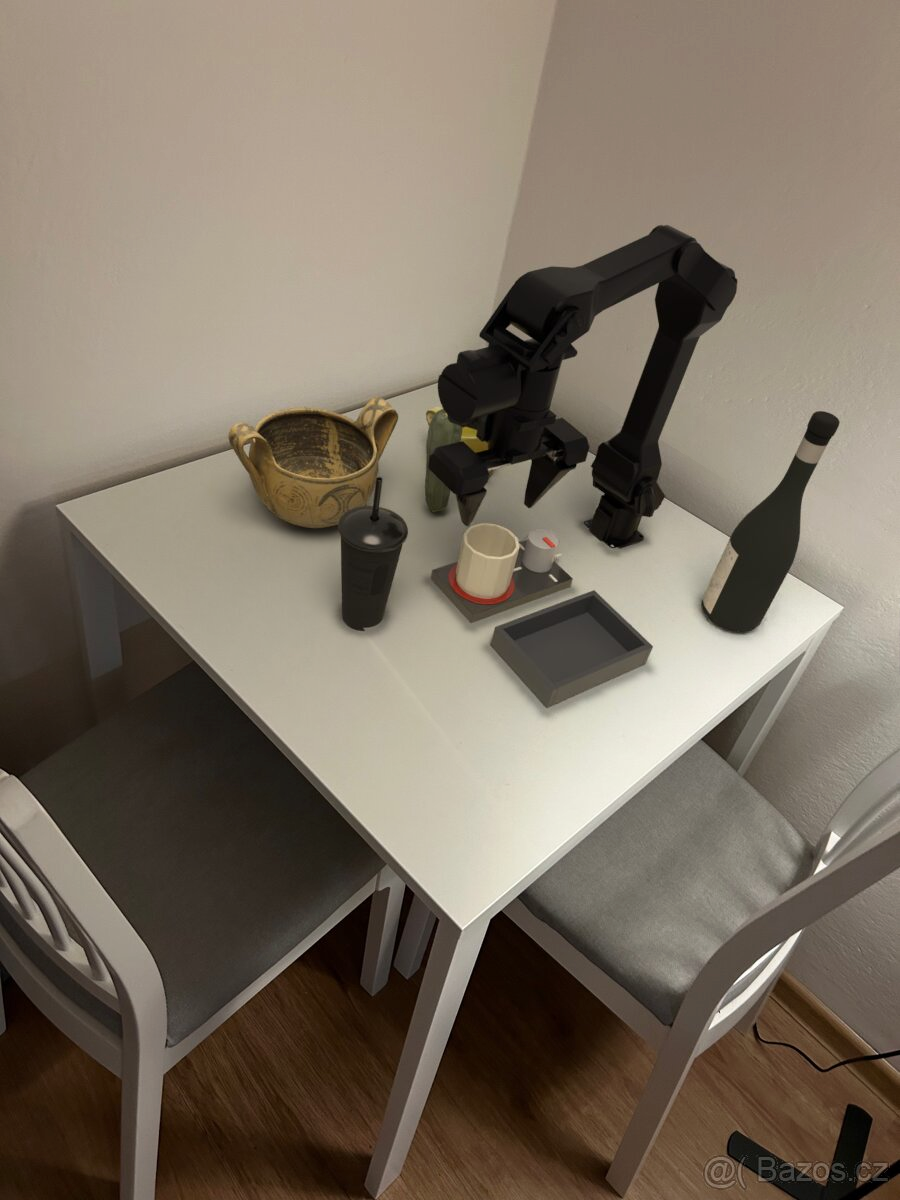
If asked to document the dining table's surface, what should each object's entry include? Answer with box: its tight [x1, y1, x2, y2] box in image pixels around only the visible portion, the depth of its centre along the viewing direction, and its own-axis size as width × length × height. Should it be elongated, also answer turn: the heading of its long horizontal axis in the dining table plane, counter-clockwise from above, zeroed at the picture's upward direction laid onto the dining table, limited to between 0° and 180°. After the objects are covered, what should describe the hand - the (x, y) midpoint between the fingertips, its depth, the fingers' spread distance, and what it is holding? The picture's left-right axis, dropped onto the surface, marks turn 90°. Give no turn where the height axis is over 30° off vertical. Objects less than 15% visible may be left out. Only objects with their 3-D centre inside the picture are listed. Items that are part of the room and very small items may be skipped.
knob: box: [522, 528, 560, 573], centre depth 115 cm, size 4×4×4 cm
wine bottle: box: [701, 410, 841, 634], centre depth 108 cm, size 8×8×30 cm
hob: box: [430, 539, 574, 624], centre depth 115 cm, size 18×9×2 cm, turn 124°
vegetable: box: [424, 409, 463, 513], centre depth 118 cm, size 4×4×20 cm
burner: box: [448, 563, 515, 605], centre depth 112 cm, size 8×8×1 cm
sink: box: [489, 589, 654, 709], centre depth 106 cm, size 16×11×4 cm
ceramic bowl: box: [227, 396, 399, 529], centre depth 116 cm, size 22×17×15 cm
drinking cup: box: [337, 476, 409, 632], centre depth 100 cm, size 8×8×20 cm
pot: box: [456, 522, 520, 599], centre depth 110 cm, size 7×7×6 cm
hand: (497, 515), depth 105 cm, fingers open, 9 cm apart
